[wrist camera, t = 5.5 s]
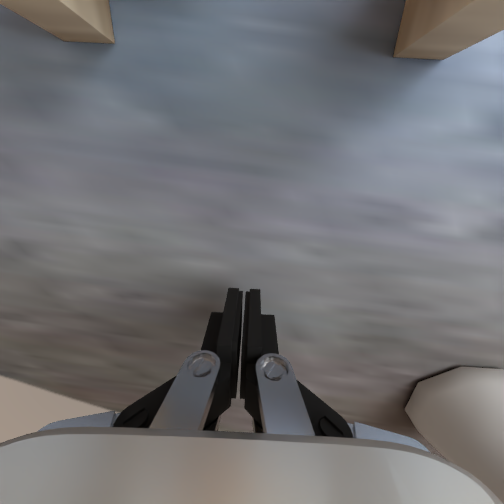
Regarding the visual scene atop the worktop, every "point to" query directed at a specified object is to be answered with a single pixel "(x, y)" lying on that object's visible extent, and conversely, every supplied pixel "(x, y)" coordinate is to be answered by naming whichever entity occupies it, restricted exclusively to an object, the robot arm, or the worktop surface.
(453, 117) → the worktop surface
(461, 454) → the flask
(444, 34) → the bridge
